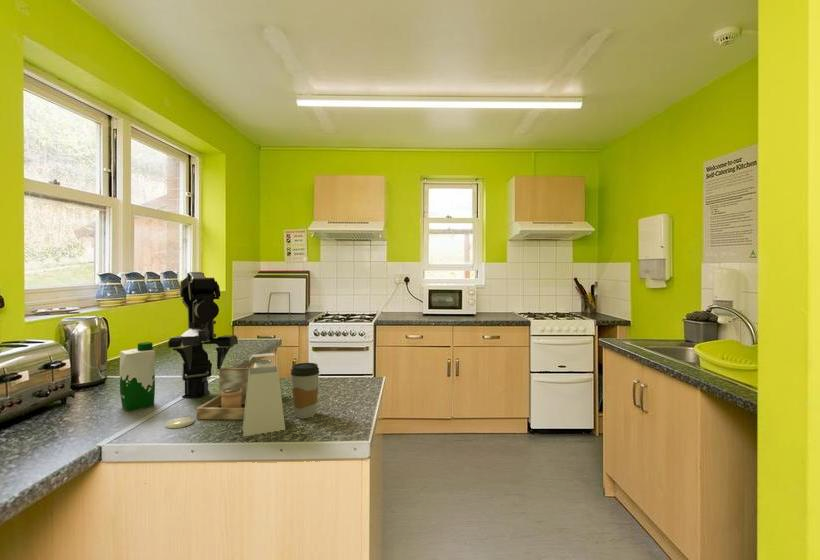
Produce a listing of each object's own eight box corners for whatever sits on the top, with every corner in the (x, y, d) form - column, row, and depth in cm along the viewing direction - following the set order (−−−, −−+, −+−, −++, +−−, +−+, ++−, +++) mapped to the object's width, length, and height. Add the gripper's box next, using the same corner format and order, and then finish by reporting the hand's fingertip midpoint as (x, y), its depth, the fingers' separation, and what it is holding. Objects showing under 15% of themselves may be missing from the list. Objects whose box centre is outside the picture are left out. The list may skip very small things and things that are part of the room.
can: (276, 393, 140) (276, 359, 140) (268, 399, 134) (268, 363, 133) (259, 392, 141) (259, 359, 141) (250, 398, 134) (250, 363, 134)
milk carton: (158, 406, 127) (157, 344, 126) (124, 413, 120) (123, 347, 120) (150, 400, 133) (149, 340, 132) (117, 406, 126) (116, 344, 126)
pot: (216, 416, 117) (216, 392, 117) (226, 409, 123) (226, 386, 123) (236, 416, 117) (236, 393, 117) (246, 409, 123) (246, 387, 123)
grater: (243, 422, 113) (242, 353, 112) (281, 417, 117) (281, 350, 116) (243, 436, 103) (243, 360, 103) (285, 430, 107) (285, 357, 107)
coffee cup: (324, 412, 121) (324, 363, 121) (309, 421, 113) (309, 369, 113) (301, 409, 124) (301, 361, 124) (284, 418, 116) (284, 367, 116)
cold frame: (196, 418, 116) (196, 379, 115) (221, 402, 130) (220, 367, 129) (250, 419, 115) (250, 379, 115) (269, 403, 129) (268, 368, 129)
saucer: (159, 428, 108) (159, 426, 108) (175, 419, 115) (175, 417, 115) (184, 428, 108) (184, 426, 108) (198, 419, 115) (198, 417, 115)
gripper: (155, 321, 113) (156, 376, 113) (220, 320, 113) (221, 375, 112) (179, 318, 124) (179, 367, 124) (238, 317, 124) (238, 366, 124)
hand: (203, 369), depth 121 cm, fingers open, 9 cm apart
